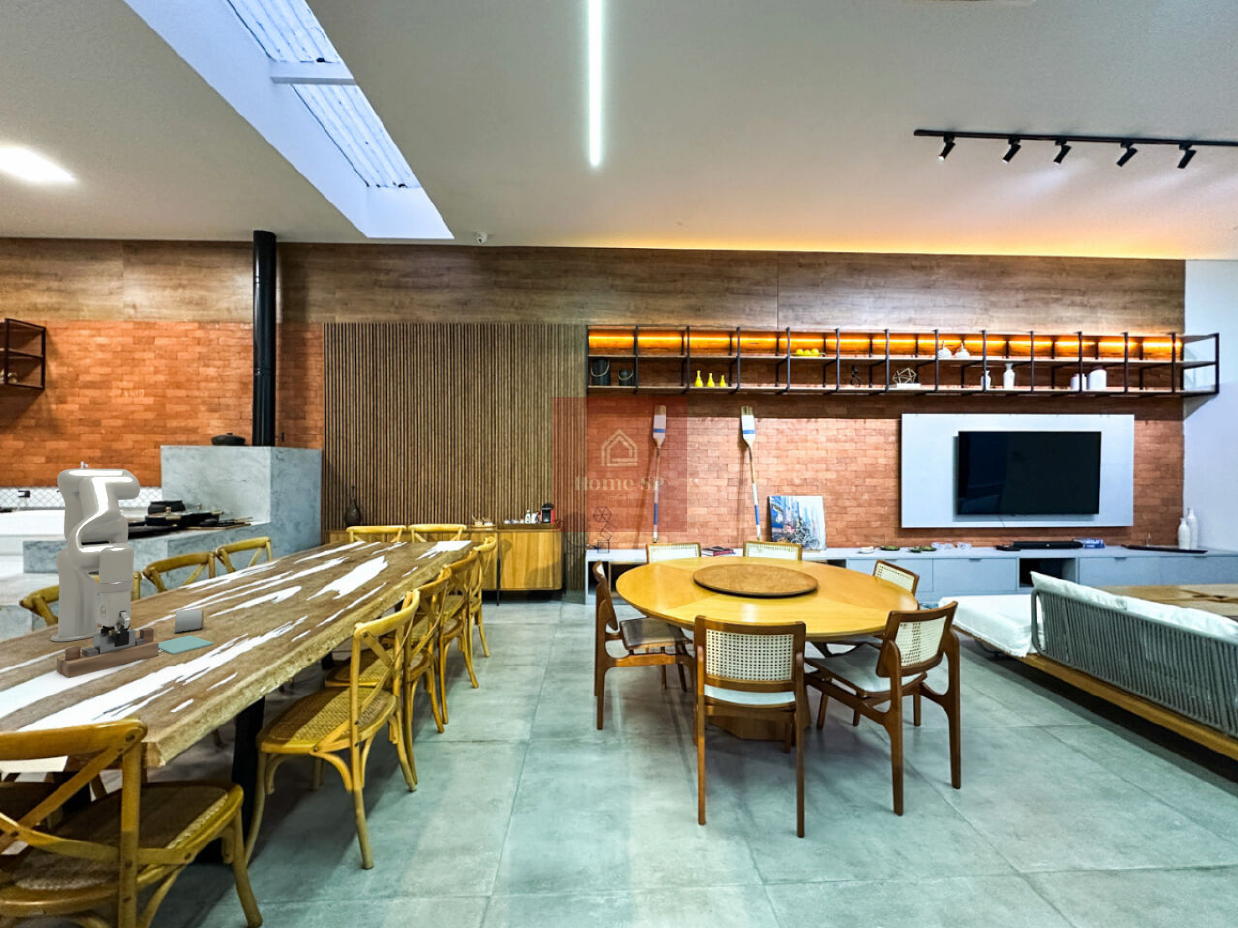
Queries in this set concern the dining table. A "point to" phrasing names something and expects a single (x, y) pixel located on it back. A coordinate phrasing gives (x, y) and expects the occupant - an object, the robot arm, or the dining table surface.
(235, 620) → the dining table surface
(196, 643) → the mat
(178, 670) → the dining table surface
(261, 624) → the dining table surface
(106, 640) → the lever cap
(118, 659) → the plane body
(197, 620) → the ceramic mug
